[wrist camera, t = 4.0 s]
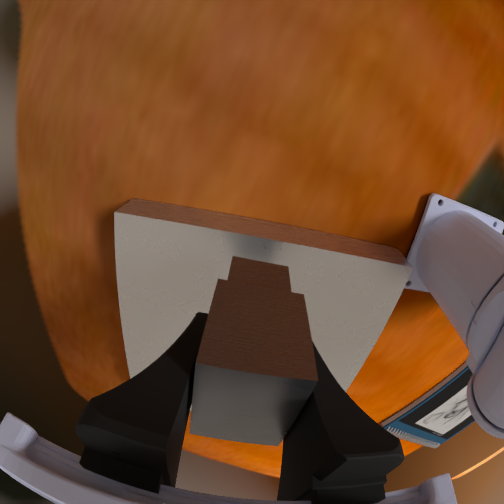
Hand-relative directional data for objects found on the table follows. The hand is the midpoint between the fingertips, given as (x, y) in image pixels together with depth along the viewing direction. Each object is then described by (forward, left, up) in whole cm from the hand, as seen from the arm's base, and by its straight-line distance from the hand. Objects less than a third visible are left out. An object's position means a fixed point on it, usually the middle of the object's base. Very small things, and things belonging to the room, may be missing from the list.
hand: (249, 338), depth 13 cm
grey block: (0, 0, -3) cm, 3 cm away
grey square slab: (-1, +8, -9) cm, 12 cm away
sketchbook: (-38, +15, -10) cm, 42 cm away
